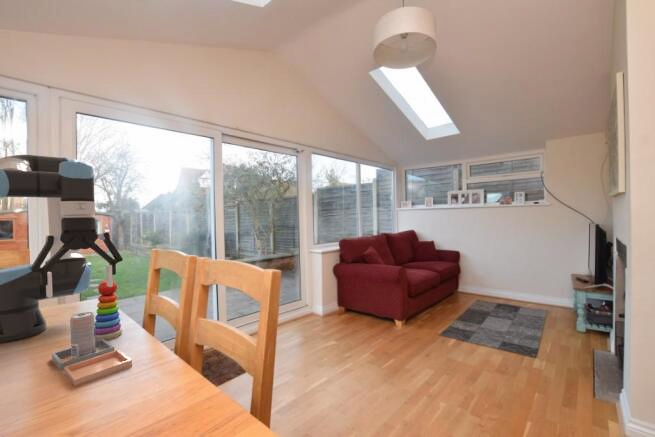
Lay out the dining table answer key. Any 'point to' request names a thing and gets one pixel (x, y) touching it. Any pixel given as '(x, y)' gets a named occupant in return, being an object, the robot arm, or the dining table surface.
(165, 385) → the dining table surface
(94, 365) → the terracotta dish
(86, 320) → the energy drink
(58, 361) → the grey rectangular frame
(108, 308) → the stacking toy
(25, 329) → the robot arm
